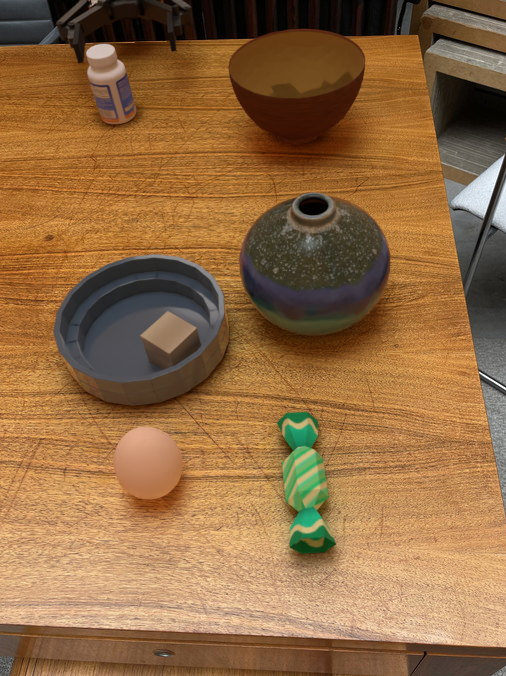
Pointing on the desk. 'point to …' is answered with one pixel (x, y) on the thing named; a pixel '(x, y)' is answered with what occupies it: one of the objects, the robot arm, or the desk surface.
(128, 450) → the egg
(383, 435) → the desk surface
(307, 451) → the candy
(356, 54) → the bowl
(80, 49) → the robot arm
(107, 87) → the pill bottle
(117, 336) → the bowl
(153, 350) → the block
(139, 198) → the desk surface
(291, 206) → the vase
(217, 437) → the desk surface
